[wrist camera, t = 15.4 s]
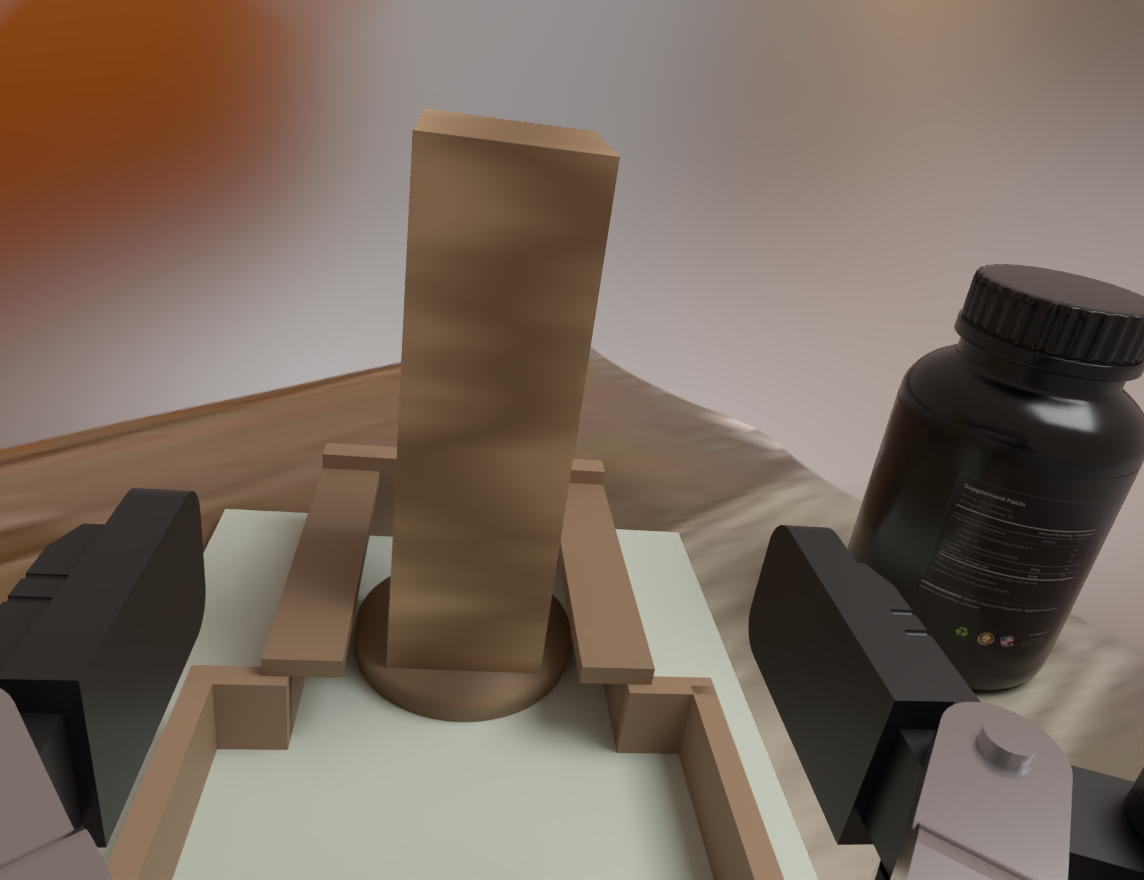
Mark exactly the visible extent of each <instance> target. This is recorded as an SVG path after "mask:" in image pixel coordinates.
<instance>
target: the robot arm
mask: <svg viewBox="0 0 1144 880" xmlns="http://www.w3.org/2000/svg"><path fill="white" fill-rule="evenodd" d="M205 600H206V583H205V570H204V556H203V543H202V529H201V516H200V505H199V500H198V497H197V495H196V493H195V492H194V491H181V490H163V489H145V488H132V489H131V490H129V492H128V493H127V494H126V495H125V497H124V498H123V500H122V501H121V502H120V504H119V505H118V507H117V508H116V510H115V511H114V512H113V514H112V515H111V517H110V518H109V519H108V521H107V522H106V524H105V525H102V524H82V525H80V526H79V527H77V528H75V529H74V530H72V531H71V532H69V533H67V534H66V535H64V536H63V537H61V538H59V539H58V540H56V541H54V542H53V543H51V544H50V545H48V546H47V547H46V548H45V549H44V551H43V552H42V553H41V555H40V556H39V557H38V558H37V560H36V561H35V562H34V563H33V565H32V566H31V567H30V568H29V570H28V571H27V572H26V577H25V579H21V580H20V581H19V582H18V584H17V585H16V586H15V588H14V589H13V590H12V591H11V593H10V594H9V595H8V600H7V602H3V603H2V604H1V605H0V880H113V879H112V877H111V875H110V873H109V871H108V869H107V867H106V865H105V863H104V861H103V859H102V856H101V854H100V852H99V850H98V848H107V845H108V843H109V841H110V838H111V836H112V834H113V831H114V829H115V827H116V824H117V822H118V820H119V818H120V815H121V813H122V811H123V808H124V806H125V804H126V801H127V799H128V797H129V794H130V792H131V790H132V787H133V785H134V783H135V781H136V778H137V776H138V774H139V771H140V769H141V767H142V764H143V762H144V760H145V757H146V755H147V753H148V751H149V748H150V746H151V744H152V741H153V739H154V737H155V734H156V732H157V730H158V727H159V725H160V723H161V721H162V718H163V716H164V714H165V711H166V709H167V707H168V704H169V702H170V700H171V697H172V695H173V693H174V691H175V688H176V686H177V684H178V681H179V679H180V677H181V674H182V672H183V670H184V667H185V665H186V663H187V661H188V658H189V656H190V654H191V651H192V649H193V647H194V644H195V642H196V640H197V637H198V635H199V632H200V629H201V625H202V621H203V616H204V610H205ZM749 641H750V646H751V650H752V653H753V655H754V658H755V660H756V662H757V664H758V667H759V669H760V671H761V673H762V676H763V678H764V680H765V682H766V685H767V687H768V689H769V692H770V694H771V696H772V698H773V701H774V703H775V705H776V707H777V710H778V712H779V714H780V716H781V719H782V721H783V723H784V725H785V728H786V730H787V732H788V734H789V737H790V739H791V741H792V743H793V746H794V748H795V750H796V752H797V755H798V757H799V759H800V761H801V764H802V766H803V768H804V770H805V773H806V775H807V777H808V779H809V782H810V784H811V786H812V788H813V791H814V793H815V795H816V797H817V800H818V802H819V804H820V806H821V809H822V811H823V813H824V815H825V818H826V820H827V822H828V824H829V827H830V829H831V831H832V833H833V836H834V838H835V840H836V842H837V845H852V844H874V846H875V848H876V850H877V853H878V855H879V857H880V859H879V862H878V864H877V866H876V869H875V871H874V873H873V875H872V878H871V880H1144V768H1143V769H1142V771H1141V773H1140V774H1139V776H1138V778H1137V779H1136V781H1135V782H1132V781H1128V780H1125V779H1121V778H1117V777H1113V776H1109V775H1106V774H1102V773H1098V772H1094V771H1090V770H1087V769H1083V768H1079V767H1075V766H1072V765H1070V762H1069V760H1068V759H1067V757H1066V755H1065V753H1064V752H1063V751H1062V749H1061V748H1060V747H1059V745H1058V744H1057V743H1056V742H1055V741H1054V740H1053V739H1052V738H1051V737H1050V736H1049V735H1048V734H1046V733H1045V732H1044V731H1043V730H1042V729H1040V728H1039V727H1037V726H1036V725H1035V724H1033V723H1032V722H1030V721H1028V720H1027V719H1025V718H1023V717H1022V716H1020V715H1018V714H1016V713H1013V712H1011V711H1009V710H1006V709H1004V708H1001V707H998V706H995V705H991V704H986V703H981V702H980V701H979V699H978V698H977V697H976V695H975V694H974V693H973V691H972V690H971V689H970V687H969V686H968V685H967V683H966V682H965V681H964V679H963V678H962V677H961V675H960V674H959V673H958V671H957V670H956V669H955V667H954V666H953V664H952V663H951V662H950V660H949V659H948V658H947V656H946V655H945V654H944V652H943V651H942V650H941V648H940V647H939V646H938V644H937V643H936V642H935V640H934V639H933V638H932V636H927V629H926V628H925V627H924V625H923V624H922V623H921V621H920V620H919V619H918V617H917V616H916V615H912V609H911V608H910V607H909V605H908V604H907V603H906V601H905V600H904V599H903V597H902V596H901V595H900V593H899V592H898V590H897V589H896V588H895V586H894V585H893V584H891V583H890V582H889V581H887V580H886V579H885V578H883V577H882V576H881V575H879V574H878V573H877V572H875V571H874V570H873V569H872V568H870V567H869V566H868V565H866V564H865V563H857V562H856V561H855V560H854V558H853V557H852V555H851V554H850V552H849V551H848V550H847V548H846V547H845V545H844V544H843V543H842V541H841V540H840V538H839V537H838V536H837V534H836V533H835V532H834V531H833V530H832V529H830V528H823V527H805V526H787V525H780V526H778V527H777V528H776V529H775V530H774V532H773V534H772V536H771V538H770V541H769V545H768V549H767V552H766V556H765V559H764V563H763V566H762V570H761V573H760V577H759V581H758V584H757V588H756V591H755V595H754V598H753V602H752V606H751V609H750V615H749Z"/></svg>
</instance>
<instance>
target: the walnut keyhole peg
mask: <svg viewBox="0 0 1144 880" xmlns="http://www.w3.org/2000/svg"><path fill="white" fill-rule="evenodd" d="M411 158H412V159H411V177H410V178H411V179H410V198H409V218H408V237H407V258H406V279H405V298H404V319H403V341H402V359H401V379H400V399H399V419H398V440H397V460H396V480H395V500H394V521H393V541H392V561H391V576H390V577H388V578H386V579H385V580H383V581H382V582H380V583H379V584H378V585H377V586H375V587H374V588H373V589H372V590H371V591H370V592H369V594H368V595H367V596H366V597H365V599H364V600H363V602H362V604H361V606H360V608H359V611H358V614H357V619H356V636H355V652H356V659H357V663H358V666H359V669H360V670H361V672H362V674H363V676H364V678H365V679H366V680H367V682H368V683H369V684H370V686H371V687H372V688H373V689H375V690H376V691H377V692H378V693H379V694H380V695H381V696H383V697H384V698H385V699H387V700H388V701H389V702H391V703H393V704H395V705H397V706H398V707H400V708H402V709H404V710H407V711H409V712H412V713H414V714H417V715H421V716H424V717H428V718H432V719H437V720H443V721H452V722H479V721H487V720H494V719H498V718H503V717H507V716H509V715H512V714H515V713H518V712H520V711H523V710H525V709H527V708H529V707H531V706H532V705H534V704H535V703H537V702H539V701H540V700H542V699H543V698H544V697H545V696H546V695H547V694H548V693H550V692H551V690H552V689H553V688H554V687H555V686H556V684H557V683H558V681H559V680H560V678H561V676H562V674H563V671H564V669H565V665H566V660H567V654H568V648H569V642H570V624H569V620H568V617H567V614H566V612H565V610H564V608H563V607H562V605H561V603H560V602H559V601H558V599H557V598H556V597H555V596H554V595H553V594H552V593H553V586H554V580H555V573H556V567H557V560H558V554H559V547H560V541H561V534H562V528H563V521H564V515H565V508H566V502H567V495H568V489H569V483H570V476H571V470H572V463H573V457H574V450H575V444H576V437H577V431H578V424H579V418H580V411H581V405H582V398H583V392H584V385H585V379H586V372H587V366H588V359H589V353H590V346H591V340H592V333H593V327H594V320H595V313H596V307H597V301H598V294H599V287H600V282H601V275H602V268H603V262H604V256H605V249H606V243H607V236H608V229H609V223H610V217H611V210H612V204H613V197H614V191H615V184H616V178H617V172H618V165H619V159H620V157H619V156H618V155H617V154H616V153H615V152H614V151H613V149H612V148H610V147H609V145H608V144H607V143H606V142H605V141H604V140H603V139H601V137H600V136H599V135H598V134H597V133H596V132H594V131H586V130H579V129H572V128H563V127H557V126H549V125H542V124H535V123H527V122H520V121H512V120H504V119H497V118H490V117H482V116H475V115H467V114H460V113H452V112H445V111H437V110H430V109H425V110H424V112H423V114H422V115H421V117H420V119H419V120H418V122H417V124H416V125H415V127H414V129H413V137H412V156H411Z"/></svg>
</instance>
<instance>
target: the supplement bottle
mask: <svg viewBox="0 0 1144 880" xmlns="http://www.w3.org/2000/svg"><path fill="white" fill-rule="evenodd" d="M954 328H955V330H956V332H957V333H958V334H959V335H960V336H961V337H960V340H959V343H958V344H955V345H950V346H946V347H942V348H939V349H937V350H934V351H932V352H930V353H928V354H926V355H925V356H923V357H922V358H920V359H919V360H918V361H917V362H916V363H914V364H913V365H912V366H911V367H910V368H909V370H908V371H907V373H906V374H905V376H904V378H903V380H902V382H901V385H900V388H899V390H898V393H897V396H896V399H895V402H894V406H893V409H892V412H891V415H890V418H889V421H888V424H887V427H886V430H885V434H884V437H883V440H882V443H881V446H880V449H879V452H878V455H877V458H876V461H875V464H874V468H873V471H872V474H871V477H870V480H869V483H868V486H867V489H866V492H865V495H864V499H863V502H862V505H861V508H860V511H859V514H858V517H857V520H856V523H855V526H854V529H853V533H852V536H851V539H850V542H849V545H848V548H847V550H848V551H849V552H850V554H851V555H852V557H853V558H854V560H855V561H856V562H857V563H865V564H866V565H868V566H869V567H870V568H872V569H873V570H874V571H875V572H877V573H878V574H879V575H881V576H882V577H883V578H885V579H886V580H887V581H889V582H890V583H891V584H893V585H894V586H895V588H896V589H897V590H898V592H899V593H900V595H901V596H902V597H903V599H904V600H905V601H906V603H907V604H908V605H909V607H910V608H911V609H912V615H916V616H917V617H918V619H919V620H920V621H921V623H922V624H923V625H924V627H925V628H926V629H927V636H932V638H933V639H934V640H935V642H936V643H937V644H938V646H939V647H940V648H941V650H942V651H943V652H944V654H945V655H946V656H947V658H948V659H949V660H950V662H951V663H952V664H953V666H954V667H955V669H956V670H957V671H958V673H959V674H960V675H961V677H962V678H963V679H964V681H965V682H966V683H967V685H968V686H969V687H970V689H971V690H982V691H986V690H1000V689H1006V688H1010V687H1014V686H1017V685H1019V684H1022V683H1024V682H1026V681H1028V680H1029V679H1031V678H1032V677H1033V676H1035V675H1036V674H1037V673H1038V672H1039V671H1040V669H1041V668H1042V667H1043V665H1044V664H1045V662H1046V660H1047V658H1048V656H1049V654H1050V652H1051V650H1052V648H1053V646H1054V644H1055V642H1056V640H1057V638H1058V636H1059V634H1060V632H1061V630H1062V628H1063V626H1064V624H1065V622H1066V620H1067V618H1068V616H1069V614H1070V612H1071V610H1072V608H1073V605H1074V603H1075V601H1076V599H1077V597H1078V595H1079V593H1080V591H1081V589H1082V587H1083V585H1084V583H1085V581H1086V579H1087V577H1088V575H1089V573H1090V571H1091V569H1092V567H1093V564H1094V563H1095V560H1096V558H1097V556H1098V554H1099V552H1100V550H1101V548H1102V546H1103V544H1104V542H1105V540H1106V538H1107V536H1108V534H1109V532H1110V530H1111V528H1112V526H1113V524H1114V522H1115V519H1116V517H1117V515H1118V513H1119V511H1120V509H1121V507H1122V505H1123V503H1124V501H1125V499H1126V497H1127V495H1128V493H1129V491H1130V489H1131V487H1132V485H1133V483H1134V481H1135V478H1136V476H1137V474H1138V472H1139V470H1140V468H1141V466H1142V464H1143V461H1144V413H1143V411H1142V410H1141V409H1140V407H1139V406H1138V404H1137V403H1136V402H1135V401H1134V400H1133V398H1132V397H1131V396H1130V395H1129V394H1127V392H1126V391H1125V390H1124V389H1123V387H1124V385H1125V383H1126V381H1130V380H1135V379H1137V378H1139V377H1140V376H1141V375H1142V374H1143V372H1144V296H1142V295H1140V294H1137V293H1134V292H1132V291H1130V290H1127V289H1124V288H1121V287H1118V286H1116V285H1113V284H1109V283H1106V282H1102V281H1099V280H1096V279H1092V278H1088V277H1084V276H1080V275H1075V274H1071V273H1066V272H1061V271H1056V270H1051V269H1045V268H1038V267H1031V266H1023V265H1010V264H1003V265H1001V264H994V265H986V266H983V267H980V268H979V269H978V270H977V271H976V273H975V275H974V277H973V280H972V283H971V286H970V289H969V292H968V295H967V297H966V300H965V303H964V307H963V309H962V310H960V312H959V314H958V317H957V320H956V323H955V326H954Z"/></svg>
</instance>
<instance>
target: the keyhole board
mask: <svg viewBox="0 0 1144 880" xmlns="http://www.w3.org/2000/svg"><path fill="white" fill-rule="evenodd" d="M396 460H397V447H383V446H367V445H352V444H336V443H326V446H325V449H324V452H323V468H322V472H321V475H320V478H319V481H318V484H317V487H316V490H315V493H314V496H313V499H312V502H311V506H310V509H309V512H308V513H293V512H274V511H254V510H235V509H225V511H224V513H223V515H222V517H221V519H220V521H219V523H218V525H217V527H216V529H215V531H214V533H213V535H212V537H211V539H210V541H209V543H208V545H207V547H206V549H205V551H204V553H203V556H204V570H205V583H206V600H205V610H204V616H203V621H202V625H201V629H200V632H199V635H198V637H197V640H196V642H195V644H194V647H193V649H192V651H191V654H190V656H189V658H188V661H187V663H186V665H185V667H184V670H183V672H182V674H181V677H180V679H179V681H178V684H177V686H176V688H175V691H174V693H173V695H172V697H171V700H170V702H169V704H168V707H167V709H166V711H165V714H164V716H163V718H162V721H161V723H160V725H159V727H158V730H157V732H156V734H155V737H154V739H153V741H152V744H151V746H150V748H149V751H148V753H147V755H146V757H145V760H144V762H143V764H142V767H141V769H140V771H139V774H138V776H137V778H136V781H135V783H134V785H133V787H132V790H131V792H130V794H129V797H128V799H127V801H126V804H125V806H124V808H123V811H122V813H121V815H120V818H119V820H118V822H117V824H116V827H115V829H114V831H113V834H112V836H111V838H110V841H109V843H108V845H107V848H98V850H99V852H100V854H101V856H102V859H103V861H104V863H105V865H106V867H107V869H108V871H109V873H110V875H111V877H112V879H113V880H818V878H817V876H816V873H815V871H814V868H813V866H812V863H811V861H810V858H809V856H808V853H807V851H806V848H805V846H804V843H803V841H802V838H801V836H800V833H799V831H798V829H797V826H796V824H795V821H794V819H793V816H792V814H791V811H790V809H789V806H788V804H787V801H786V799H785V796H784V794H783V791H782V789H781V786H780V784H779V781H778V779H777V776H776V774H775V771H774V769H773V766H772V764H771V761H770V759H769V756H768V754H767V752H766V749H765V747H764V744H763V742H762V739H761V737H760V734H759V732H758V729H757V727H756V724H755V722H754V719H753V717H752V714H751V712H750V709H749V707H748V704H747V702H746V699H745V697H744V694H743V692H742V689H741V687H740V684H739V682H738V679H737V677H736V675H735V672H734V670H733V667H732V665H731V662H730V660H729V657H728V655H727V652H726V650H725V647H724V645H723V642H722V640H721V637H720V635H719V632H718V630H717V627H716V625H715V622H714V620H713V617H712V615H711V612H710V610H709V607H708V605H707V602H706V600H705V598H704V595H703V593H702V590H701V588H700V585H699V583H698V580H697V578H696V575H695V573H694V570H693V568H692V565H691V563H690V560H689V558H688V555H687V553H686V550H685V548H684V545H683V543H682V540H681V538H680V535H679V533H677V532H658V531H639V530H620V529H615V526H614V522H613V519H612V515H611V512H610V508H609V505H608V501H607V498H606V494H605V491H604V487H603V481H604V475H605V470H604V467H603V463H602V461H599V460H583V459H573V463H572V470H571V476H570V483H569V489H568V495H567V502H566V508H565V515H564V521H563V528H562V534H561V541H560V547H559V554H558V560H557V567H556V573H555V580H554V586H553V593H552V594H553V595H554V596H555V597H556V598H557V599H558V601H559V602H560V603H561V605H562V607H563V608H564V610H565V612H566V614H567V617H568V620H569V624H570V642H569V648H568V654H567V660H566V665H565V669H564V671H563V674H562V676H561V678H560V680H559V681H558V683H557V684H556V686H555V687H554V688H553V689H552V690H551V692H550V693H548V694H547V695H546V696H545V697H544V698H543V699H542V700H540V701H539V702H537V703H535V704H534V705H532V706H531V707H529V708H527V709H525V710H523V711H520V712H518V713H515V714H512V715H509V716H507V717H503V718H498V719H494V720H487V721H479V722H452V721H443V720H437V719H432V718H428V717H424V716H421V715H417V714H414V713H412V712H409V711H407V710H404V709H402V708H400V707H398V706H397V705H395V704H393V703H391V702H389V701H388V700H387V699H385V698H384V697H383V696H381V695H380V694H379V693H378V692H377V691H376V690H375V689H373V688H372V687H371V686H370V684H369V683H368V682H367V680H366V679H365V678H364V676H363V674H362V672H361V670H360V669H359V666H358V663H357V659H356V652H355V636H356V619H357V614H358V611H359V608H360V606H361V604H362V602H363V600H364V599H365V597H366V596H367V595H368V594H369V592H370V591H371V590H372V589H373V588H374V587H375V586H377V585H378V584H379V583H380V582H382V581H383V580H385V579H386V578H388V577H390V576H391V561H392V541H393V521H394V500H395V480H396Z"/></svg>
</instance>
